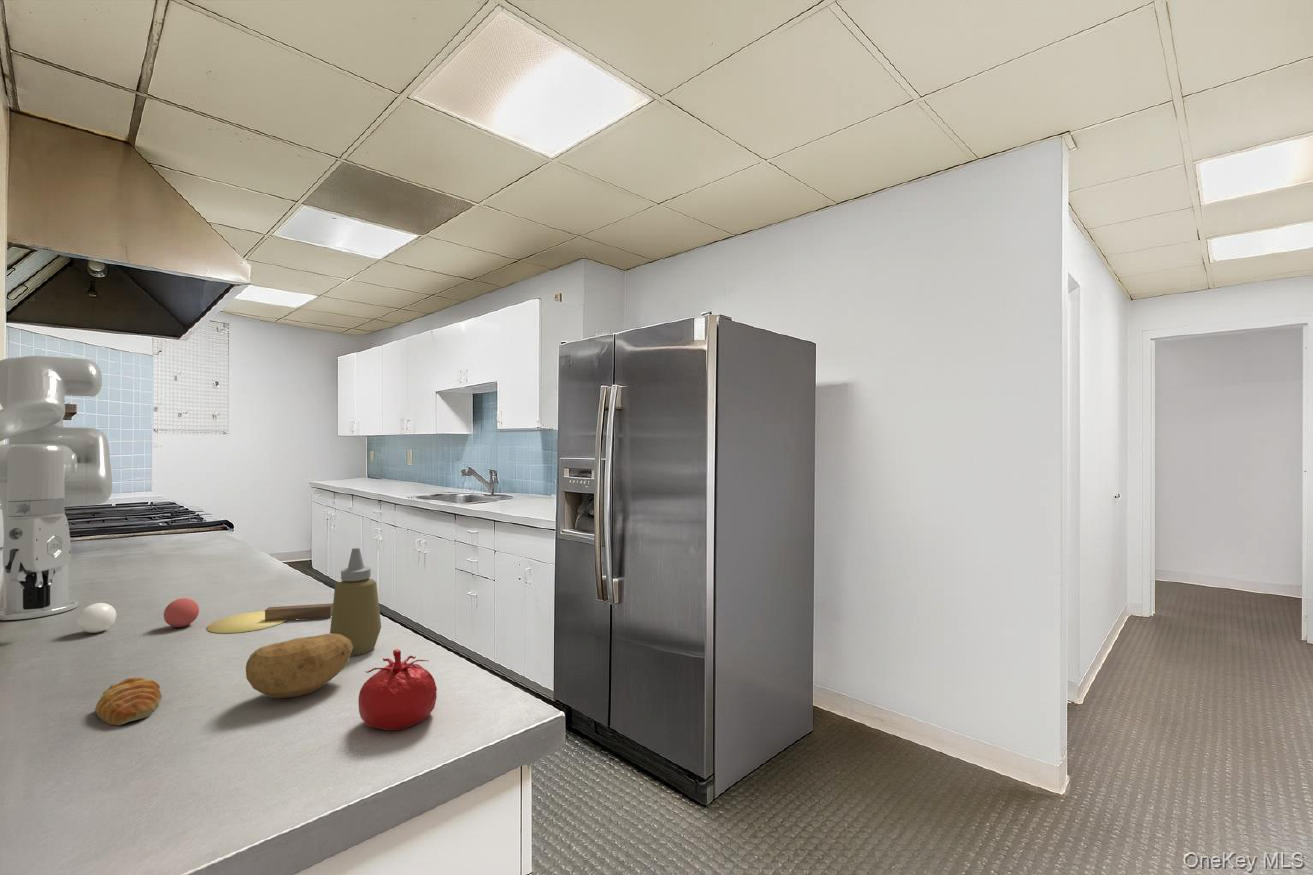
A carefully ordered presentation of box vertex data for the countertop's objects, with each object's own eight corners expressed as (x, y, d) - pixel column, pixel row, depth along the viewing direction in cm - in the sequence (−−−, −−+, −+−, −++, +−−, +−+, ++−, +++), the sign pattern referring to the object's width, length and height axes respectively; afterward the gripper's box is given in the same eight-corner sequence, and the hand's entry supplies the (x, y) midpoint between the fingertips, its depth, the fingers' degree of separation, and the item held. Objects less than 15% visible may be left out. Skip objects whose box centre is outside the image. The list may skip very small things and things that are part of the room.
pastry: (167, 717, 80) (167, 688, 80) (99, 735, 75) (98, 705, 75) (157, 695, 87) (157, 669, 87) (93, 711, 82) (93, 684, 82)
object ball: (158, 627, 116) (158, 599, 116) (191, 620, 121) (191, 593, 121) (170, 632, 113) (170, 604, 113) (204, 624, 118) (204, 597, 118)
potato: (364, 686, 89) (364, 633, 89) (256, 719, 79) (256, 659, 79) (339, 669, 96) (339, 619, 96) (235, 698, 85) (235, 642, 85)
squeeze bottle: (318, 655, 102) (318, 550, 102) (358, 640, 109) (358, 543, 109) (353, 662, 99) (353, 554, 99) (391, 646, 106) (391, 546, 106)
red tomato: (387, 747, 72) (387, 671, 72) (341, 726, 77) (341, 654, 77) (454, 714, 80) (454, 646, 80) (408, 697, 86) (408, 633, 86)
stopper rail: (330, 617, 123) (330, 605, 123) (265, 622, 120) (264, 609, 120) (333, 615, 125) (333, 603, 125) (268, 619, 122) (268, 607, 122)
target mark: (193, 625, 118) (193, 624, 118) (269, 608, 130) (269, 607, 130) (227, 638, 110) (227, 637, 110) (304, 618, 122) (304, 617, 122)
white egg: (72, 633, 113) (72, 604, 113) (110, 625, 118) (110, 598, 118) (82, 638, 110) (82, 609, 110) (121, 630, 115) (121, 602, 115)
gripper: (29, 512, 105) (29, 616, 104) (88, 505, 120) (88, 597, 119) (-24, 514, 103) (-24, 620, 103) (42, 507, 118) (43, 600, 117)
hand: (36, 607), depth 111 cm, fingers closed
